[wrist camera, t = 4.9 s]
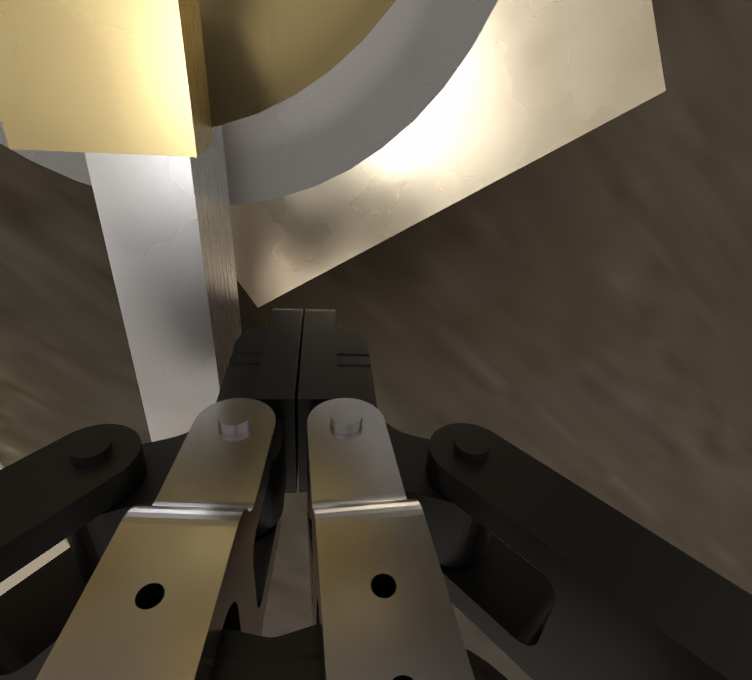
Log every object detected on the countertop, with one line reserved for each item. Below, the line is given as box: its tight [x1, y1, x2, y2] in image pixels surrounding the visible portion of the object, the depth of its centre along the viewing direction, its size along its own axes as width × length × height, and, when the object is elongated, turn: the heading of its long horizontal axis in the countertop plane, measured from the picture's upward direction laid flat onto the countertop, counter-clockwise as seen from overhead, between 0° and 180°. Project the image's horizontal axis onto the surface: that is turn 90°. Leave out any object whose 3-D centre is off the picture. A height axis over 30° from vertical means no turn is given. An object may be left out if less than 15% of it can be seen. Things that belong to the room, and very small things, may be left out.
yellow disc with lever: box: [0, 0, 396, 442], centre depth 8 cm, size 20×10×4 cm, turn 176°
